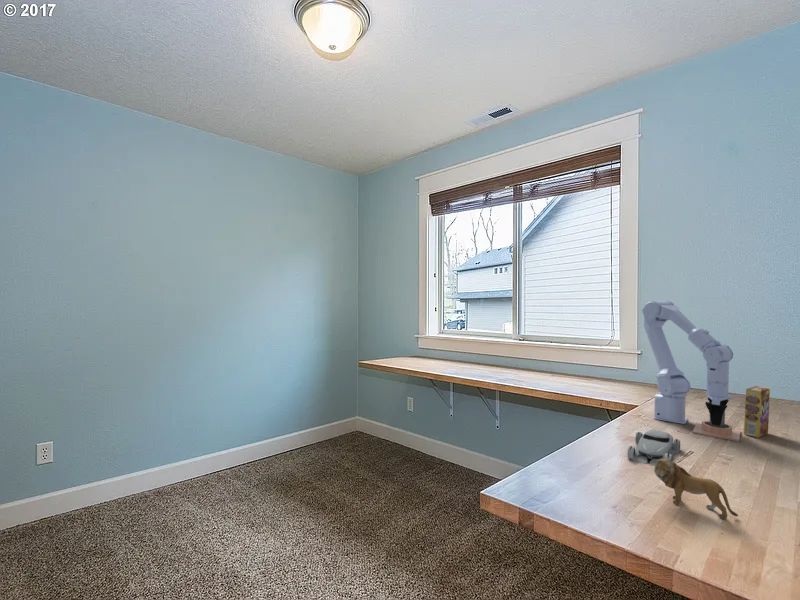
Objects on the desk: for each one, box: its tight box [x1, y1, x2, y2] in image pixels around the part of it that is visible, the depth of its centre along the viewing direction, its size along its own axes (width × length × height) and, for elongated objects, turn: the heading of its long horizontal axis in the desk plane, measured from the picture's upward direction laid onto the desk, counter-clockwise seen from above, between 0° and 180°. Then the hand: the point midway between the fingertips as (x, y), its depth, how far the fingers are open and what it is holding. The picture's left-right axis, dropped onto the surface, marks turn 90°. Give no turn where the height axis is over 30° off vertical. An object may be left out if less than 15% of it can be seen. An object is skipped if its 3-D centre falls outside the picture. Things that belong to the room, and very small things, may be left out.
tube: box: [709, 410, 726, 428], centre depth 138 cm, size 4×4×7 cm
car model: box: [626, 429, 681, 467], centre depth 120 cm, size 11×24×5 cm, turn 141°
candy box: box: [743, 385, 771, 439], centre depth 137 cm, size 9×4×15 cm, turn 123°
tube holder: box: [692, 420, 741, 442], centre depth 138 cm, size 12×12×3 cm
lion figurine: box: [653, 458, 739, 520], centre depth 89 cm, size 15×5×9 cm, turn 52°
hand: (716, 422), depth 138 cm, fingers open, 7 cm apart
